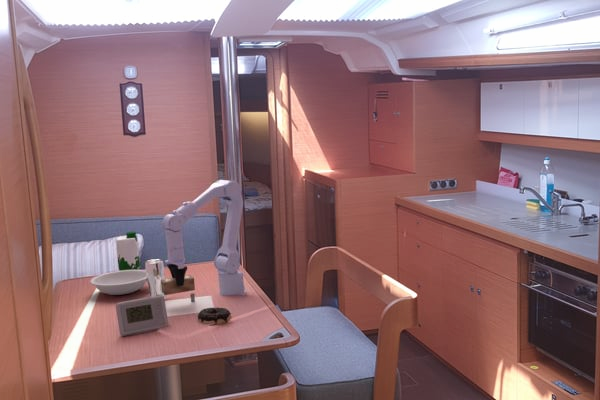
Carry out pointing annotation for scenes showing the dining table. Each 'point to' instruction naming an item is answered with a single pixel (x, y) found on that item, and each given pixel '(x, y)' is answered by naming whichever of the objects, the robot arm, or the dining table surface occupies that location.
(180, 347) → the dining table surface
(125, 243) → the milk carton
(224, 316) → the donut
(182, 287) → the brown rectangular box
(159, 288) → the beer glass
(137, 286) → the soup bowl
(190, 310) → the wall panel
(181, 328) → the dining table surface
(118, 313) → the digital clock
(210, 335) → the dining table surface
